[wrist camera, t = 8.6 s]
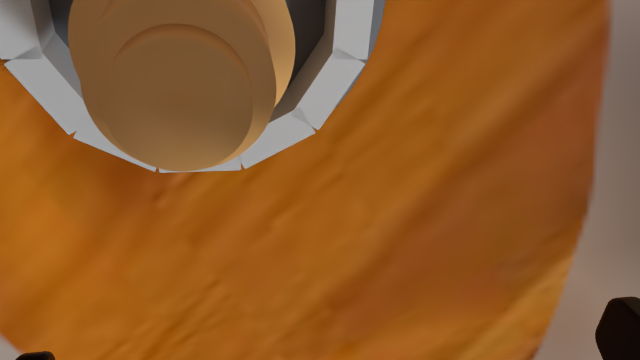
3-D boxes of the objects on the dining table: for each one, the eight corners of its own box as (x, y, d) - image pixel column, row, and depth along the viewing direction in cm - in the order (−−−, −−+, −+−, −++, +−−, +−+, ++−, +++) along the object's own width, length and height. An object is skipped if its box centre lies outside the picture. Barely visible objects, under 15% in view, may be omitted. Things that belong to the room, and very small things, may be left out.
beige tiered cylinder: (277, 77, 17) (306, 212, 12) (112, 78, 17) (61, 222, 11) (281, -95, 15) (321, -26, 9) (85, -104, 14) (0, -34, 8)
